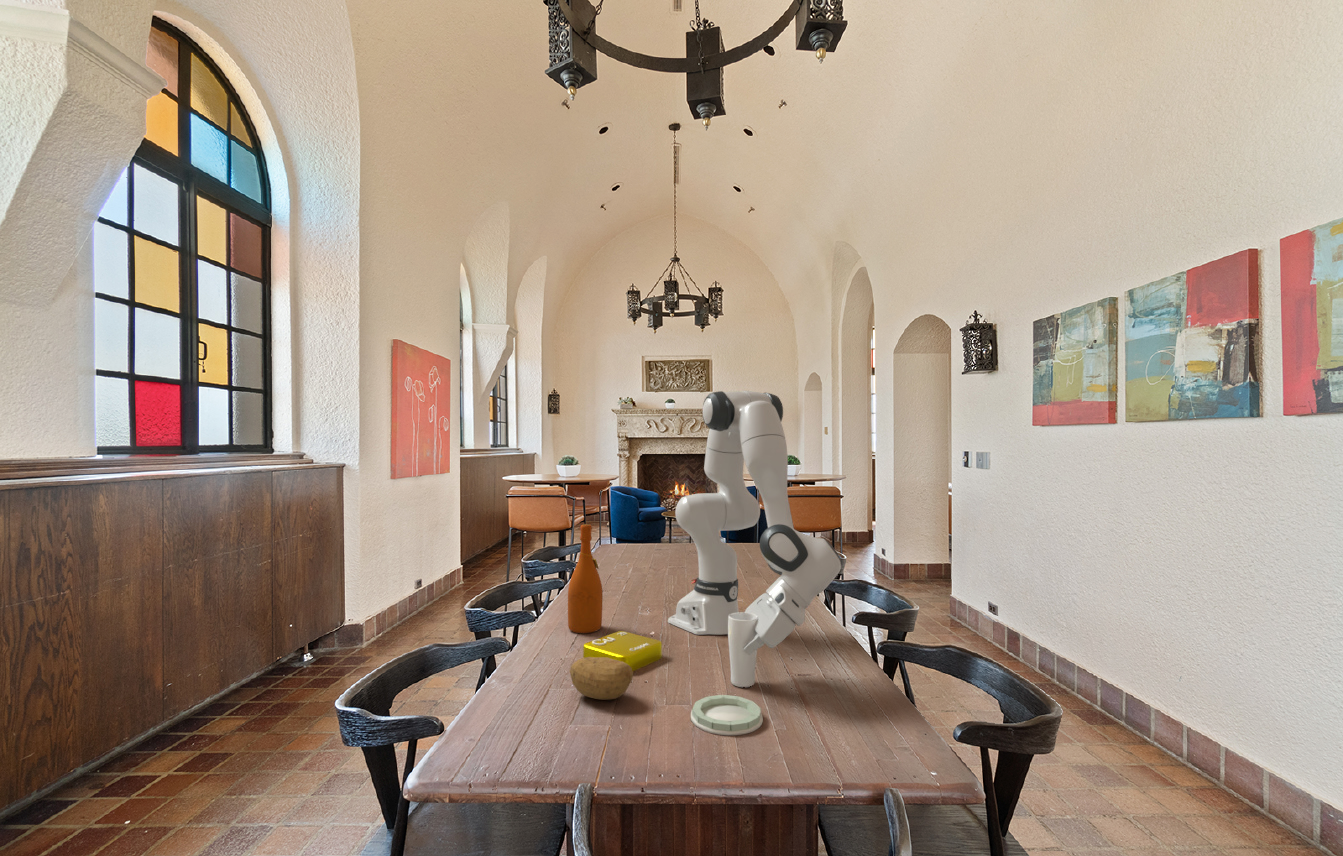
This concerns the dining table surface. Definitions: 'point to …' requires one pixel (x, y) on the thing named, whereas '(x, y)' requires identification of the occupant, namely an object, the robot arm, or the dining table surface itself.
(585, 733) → the dining table surface
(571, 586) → the wine bottle
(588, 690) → the potato
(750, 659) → the drinking glass
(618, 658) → the element tile
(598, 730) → the dining table surface
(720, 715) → the green rimmed plate
